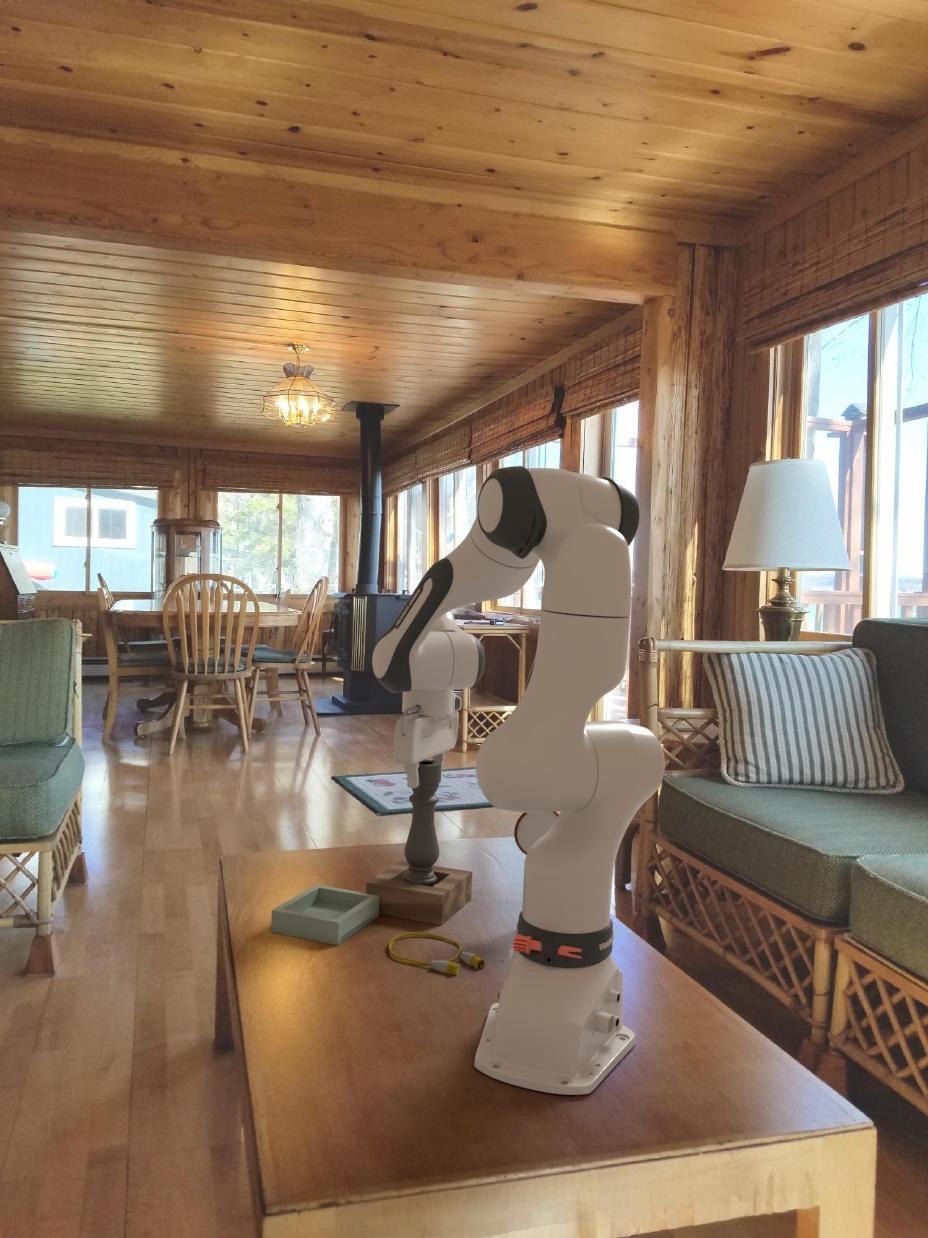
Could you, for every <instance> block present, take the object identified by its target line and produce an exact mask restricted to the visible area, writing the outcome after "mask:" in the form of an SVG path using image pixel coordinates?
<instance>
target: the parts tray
mask: <svg viewBox="0 0 928 1238" xmlns="http://www.w3.org/2000/svg"><path fill="white" fill-rule="evenodd" d="M379 917H380V914H379V895H374V894H368V893H366V892H362V891H361V892H360V891H354V890H351V889H344V888H338V887H333V886H327V885H321V884H316V885H314V886H312V887H310V888H308V889H307V890H305V891H303V892H301V893H299V894H298V895H296V896H294V897H292V898H290V899H289V900H287V901H285V902H283V903H282V904H280V905H278V906H276V907H274V908H272V909H271V918H270V919H271V923H270V924H271V925H270V933H274V932H275V934H279V933H281V934H280V935H284V936H289V937H294V936H296V937H295V938H299V937H300V939H304V938H306V939H305V940H309V939H310V941H313V942H314V941H315V940H316V941H315V942H319V943H325V944H330V945H334V946H339V945H341V944H342V943H343V942H345V941H346V940H348V938H350V937H351V936H353V935H354V934H356V933H357V932H359V931H360V930H361V929H363V928H364V927H366V926H367V925H369V924H370V923H372V922H373V921H374V920H376V919H377V918H379Z"/></svg>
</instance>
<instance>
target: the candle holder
mask: <svg viewBox="0 0 928 1238" xmlns="http://www.w3.org/2000/svg"><path fill="white" fill-rule="evenodd" d="M441 768H443V766H442V763H441V762H438V761H433V760H431V759H425V760H423V761H420V762H419V768H418V776H419V777H420V786H419V787H417V788H411V791H412V794H410V795H409V796H408V800H409V802H410V803H411V806H412V811H411V812H412V813H411V815H412V817H411V825H410V826H409V827H410V828H409V831H408V835H407V839H406V842H405V846H404V851H403V854H404V857H405V861H407V862H408V863H409V868H410V870H409V872H408V873H407V875H406V876H405V878H404V879H405V882H406V883H412V884H418V885H424V886H430V887H434V886H435V885H437V884H435V883H436V882H437V877H436V875H435V874H434V872H433V871H432V869H433V868H434V866H435V864H436V863H437V861H438V859H439V857H440V847H439V842H438V837H437V831H436V826H435V825H436V824H435V808H436V805H437V804H438V803H439V801H440V797H439V796H438V795H437V794H436V793H437V791H438V789H439V787H440V783H441V782H442V773H441Z"/></svg>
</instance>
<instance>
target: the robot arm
mask: <svg viewBox="0 0 928 1238" xmlns="http://www.w3.org/2000/svg"><path fill="white" fill-rule="evenodd" d="M476 509H477V513H476V517H475V519H474V522H473V523H472V526H471V528H470V530H469V532H468V533H467V535H466V536H465V538H464V539H463V540H462V541H461V542H460V543H459V545H457V546H456V548H454V550H452V551H451V552H450V553H449V554H447V555H446V556H445V557H444V558H440V559H439V560H438V561H435V562H434V563H433V564H432V565H431V566H430V567H429V568H428V570H427V571H426V573H424V574H423V577H422V578H421V580H420V581H419V583H418V584H417V585H416V587H415V589H414V590H413V592H412V594H411V595H410V597H409V598H408V600H407V601H406V603H405V604H404V606H403V608H402V609H401V611H400V612H399V613H398V615H397V617H396V619H395V620H394V621H393V622H392V625H391V626H390V627H389V628H388V629H387V630H386V631H384V632H383V634H382V635H381V636H380V638H379V639H378V640H377V641H376V643H375V645H374V647H373V648H374V649H373V651H372V654H371V655H372V656H371V669H372V673H373V675H374V678H375V679H376V681H377V682H378V683H379V684H380V685H381V686H382V687H383V688H384V689H386V690H387V691H389V692H390V693H391V694H397V693H402V705H401V712H402V715H401V717H400V718H398V719H397V721H396V724H395V730H394V735H393V737H394V738H393V748H392V758H393V762H394V763H395V764H399V765H400V764H401V765H404V768H403V769H404V771H405V775H406V777H407V780H406V782H407V783H406V786H407V787H408V788H410V789H412V788H417V787H419V786H420V777H419V776H418V768H419V762H420V761H423V760H429V759H430V758H431V759H432V760H433V761H438V762H441V763H442V768H443V766H444V762H445V759H446V752H448V751H450V750H453V749H455V747H456V745H457V741H458V740H457V739H458V733H459V731H458V730H459V722H460V721H459V720H460V719H459V718H460V716H459V711H460V710H461V709H462V704H463V703H462V698H461V697H460V696H458V695H457V694H456V693H455V691H454V690H458V691H459V690H466V689H469V688H470V689H471V688H474V687H475V685H477V683H478V682H479V681H480V680H481V679H482V677H483V675H484V673H485V667H486V652H485V648H484V645H483V644H482V643H481V641H480V640H479V639H478V637H476V636H475V635H474V634H472V633H468V632H466V631H465V630H464V629H462V628H460V626H458V624H457V623H456V620H455V615H454V614H453V613H452V612H451V611H453V610H455V609H458V608H461V607H464V606H465V607H466V606H469V605H473V604H477V603H482V602H488V601H494V600H500V599H504V598H506V597H509V596H511V595H513V594H515V593H517V592H518V591H520V590H521V589H522V588H523V587H524V586H525V585H526V583H527V582H528V581H529V580H530V578H531V577H532V575H533V574H534V572H535V570H536V569H537V566H538V564H539V562H540V561H541V562H542V565H543V568H544V569H543V570H544V579H543V587H542V594H541V595H542V596H541V604H540V617H539V626H538V627H539V628H538V636H537V645H536V652H535V660H534V664H533V670H532V673H531V676H530V679H529V682H528V684H527V685H526V688H525V691H524V693H523V695H522V697H521V699H520V700H519V702H518V704H517V705H516V706H515V708H514V709H513V711H512V712H511V713H510V714H509V716H508V717H507V718H506V719H505V720H504V721H503V722H502V723H501V724H500V725H499V726H497V728H495V729H494V730H492V731H491V732H490V733H489V734H488V735H486V737H485V738H484V740H483V742H482V743H481V745H480V747H479V750H478V752H477V756H476V760H475V761H476V762H475V774H476V779H477V785H478V787H479V790H480V791H481V793H482V795H484V797H485V799H486V800H487V802H489V803H490V805H492V807H494V808H496V809H499V810H503V811H508V812H509V811H511V812H515V813H522V814H523V813H531V814H534V813H545V812H559V813H558V814H559V816H558V818H557V820H556V822H555V823H554V825H553V826H552V828H551V829H550V830H549V831H548V832H547V833H546V834H545V835H544V836H543V837H541V838H540V839H539V840H537V841H536V842H535V843H534V844H533V845H532V846H531V847H530V849H529V851H528V853H527V855H526V854H525V858H524V861H523V862H524V863H523V864H524V865H523V885H522V886H523V887H522V888H523V889H522V907H521V908H522V910H521V911H520V912H519V914H518V915H519V916H518V921H517V924H516V930H515V936H514V939H513V943H512V949H511V950H509V958H508V959H509V962H508V963H507V964H508V966H507V969H506V971H505V972H506V974H505V977H504V981H503V985H502V988H501V989H500V990H499V991H498V995H497V998H498V1002H494V1003H493V1004H491V1006H490V1007H489V1011H488V1014H487V1018H486V1021H485V1024H484V1027H483V1030H482V1034H481V1036H480V1041H479V1043H478V1046H477V1049H476V1052H475V1057H474V1062H473V1063H474V1064H473V1066H474V1068H476V1069H477V1070H478V1071H480V1072H481V1073H483V1074H484V1075H487V1076H488V1077H491V1078H493V1079H495V1080H498V1081H501V1082H503V1083H507V1084H510V1085H513V1086H516V1087H520V1088H524V1089H529V1090H533V1091H538V1092H542V1093H543V1092H544V1093H549V1094H556V1095H569V1096H570V1095H572V1096H573V1095H575V1096H579V1095H580V1096H581V1095H588V1094H591V1093H592V1092H593V1091H594V1090H595V1089H596V1088H597V1087H598V1086H599V1085H600V1084H601V1082H602V1081H603V1080H604V1079H605V1078H606V1077H607V1076H608V1075H609V1074H610V1073H611V1071H612V1070H613V1069H614V1068H615V1067H616V1066H617V1065H618V1064H619V1063H620V1061H621V1060H622V1059H623V1058H624V1057H625V1056H627V1054H629V1052H630V1050H631V1049H633V1047H634V1046H635V1045H636V1043H637V1041H636V1033H635V1032H634V1031H633V1030H632V1029H630V1028H628V1027H626V1026H625V1025H624V973H623V971H622V970H621V969H620V967H619V966H618V965H617V964H616V962H615V960H614V959H613V956H612V955H611V954H612V952H613V944H614V943H613V942H614V923H613V920H612V919H611V902H612V890H613V879H614V872H615V871H614V869H615V864H616V859H617V855H618V852H619V848H620V845H621V843H622V840H623V838H624V836H625V834H626V831H627V830H628V827H629V825H630V823H631V822H632V820H633V818H634V817H635V815H636V814H637V812H638V811H639V809H640V808H641V807H642V806H643V804H644V803H646V802H647V801H648V800H649V799H650V798H651V797H652V796H653V795H654V794H655V793H657V791H659V788H660V787H661V784H662V782H663V779H664V775H665V768H666V767H665V766H666V762H665V761H666V760H665V755H664V750H663V748H662V745H661V743H660V741H659V739H658V738H657V737H656V734H654V733H653V732H652V731H651V730H650V729H649V728H647V727H644V726H641V725H638V724H633V723H629V722H624V721H619V720H595V721H594V720H593V721H592V720H591V721H589V720H588V719H589V717H590V715H591V712H592V710H593V709H594V708H595V706H596V705H597V703H598V702H599V701H600V700H601V699H602V698H603V697H604V696H606V695H607V694H608V693H610V692H611V691H613V690H615V688H617V687H618V686H619V685H620V684H621V682H622V681H623V678H624V677H625V675H626V674H625V673H626V668H627V658H628V647H629V645H628V644H629V634H630V622H631V613H632V612H631V609H632V568H631V567H632V566H631V557H630V550H629V546H630V545H631V543H632V542H633V541H634V538H635V537H636V535H637V532H638V528H639V526H640V518H641V517H640V515H641V513H640V506H639V501H638V498H637V496H636V494H635V491H633V489H632V488H631V487H630V486H628V485H627V484H625V483H623V482H621V481H619V480H617V479H614V478H611V477H605V476H604V477H603V476H602V477H598V476H593V475H588V474H585V473H580V472H575V471H573V472H572V471H569V470H567V469H563V468H553V467H551V468H549V467H546V468H545V467H529V468H526V467H525V466H522V465H517V466H516V465H514V466H506V467H500V468H497V469H495V470H493V471H492V472H491V473H490V474H489V475H488V476H487V477H486V479H485V481H484V482H483V483H482V486H481V488H480V490H479V494H478V498H477V507H476ZM442 768H441V774H442V770H443V769H442Z"/></svg>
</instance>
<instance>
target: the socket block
mask: <svg viewBox="0 0 928 1238" xmlns="http://www.w3.org/2000/svg"><path fill="white" fill-rule="evenodd" d="M409 870H410V868H409V863H408V862H407V860H399V861H398V862H397V863H395V864H394V865H392V866H390V867H388V868H387V869H386V870H384V871H382V872H380V873H379V874H377V875H375V877H373V878H371V879H370V880H368V881H366V887H365V888H366V890H365V893H368V894H374V895H379V915H384V916H389V917H394V918H398V919H399V918H400V919H406V920H411V921H417V922H422V923H428V924H433V925H438V926H443V925H444V924H445V923H446V922H447V921H448V920H450V919H451V918H452V917H453V916H454V915H455V914H457V912H459V910H461V909H462V908H463V907H465V906H466V905H467V904H468V903H469V902H471V900H472V893H473V892H472V891H473V871H470V870H469V871H468V870H464V869H463V870H462V869H457V868H452V867H443V866H437V865H434V868H433V869H432V871H433V872H434V874H435V875H436V877H437V882H436V883H435V884H437V885H435V886H434V887H430V886H424V885H418V884H412V883H406V882H405V879H404V878H405V876H406V875H407V873H408V872H409Z"/></svg>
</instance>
